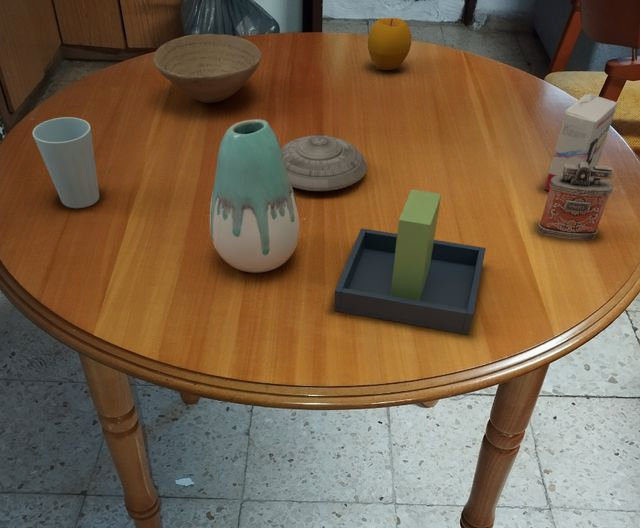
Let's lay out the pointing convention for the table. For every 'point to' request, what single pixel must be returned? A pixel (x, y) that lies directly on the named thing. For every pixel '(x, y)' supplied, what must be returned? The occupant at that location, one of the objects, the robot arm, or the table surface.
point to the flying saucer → (322, 163)
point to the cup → (69, 159)
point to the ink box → (582, 134)
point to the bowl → (208, 64)
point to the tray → (438, 294)
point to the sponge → (415, 244)
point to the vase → (253, 200)
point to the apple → (389, 43)
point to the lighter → (576, 201)
